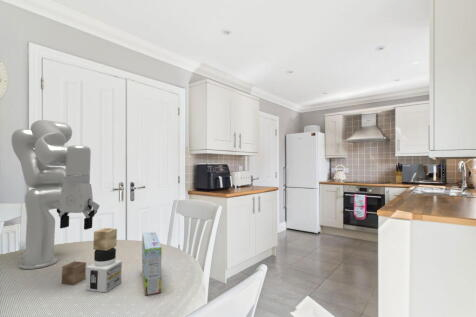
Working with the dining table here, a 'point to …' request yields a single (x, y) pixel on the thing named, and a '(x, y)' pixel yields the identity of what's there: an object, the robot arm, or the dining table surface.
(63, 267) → the walnut block
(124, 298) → the dining table surface
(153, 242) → the snack box
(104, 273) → the container
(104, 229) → the oak block
